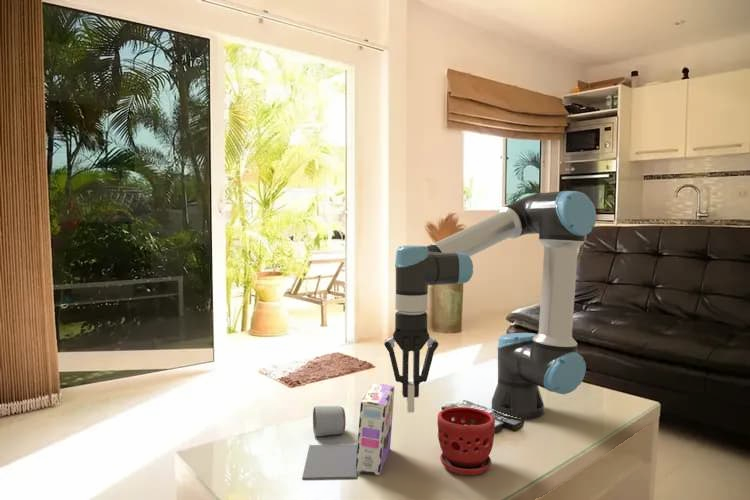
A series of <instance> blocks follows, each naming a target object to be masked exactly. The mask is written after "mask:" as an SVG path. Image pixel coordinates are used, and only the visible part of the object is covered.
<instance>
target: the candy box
mask: <svg viewBox="0 0 750 500" xmlns="http://www.w3.org/2000/svg"><path fill="white" fill-rule="evenodd" d="M394 397H395V385H389V384H384V383H383V384H382V383H376V382H372V384H371V386H370V388H369V389H368V390H367V392H366V393H365V395H364V397H363V398H362V400H361V401H360V409H359V422H358V436H357V459H356V471H357V472H360V473H366V474H370V475H374V476H381V474H382V473H381V472H382V471H383V468H384V465H385V463H386V460H387V457H388V454H389V453H390V449H391V444H392V443H391V441H392V429H393V428H392V427H393V415H394V414H393V413H394V401H395V400H394V399H395V398H394Z"/></svg>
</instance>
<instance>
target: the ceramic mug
mask: <svg viewBox="0 0 750 500" xmlns="http://www.w3.org/2000/svg"><path fill="white" fill-rule="evenodd" d="M346 418H347V417H346V410H345V408H344V407H343V406H341V405H340V406H339V405H315V406H314V407H313V411H312V428H313V429H312V430H313V436H314V437H327V436H334V435H341V434H343V433H344V432H345V430H346V421H347V420H346Z"/></svg>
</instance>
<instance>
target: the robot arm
mask: <svg viewBox="0 0 750 500" xmlns="http://www.w3.org/2000/svg"><path fill="white" fill-rule="evenodd" d="M590 199H591V198H590V197H589V196H588V195H587V194H585V193H583V192H581V191H578V190H563V191H561V190H560V191H551V192H537V193H533V194H530V195H528V196H524V197H522V198H521V199H518V200H515V201H514V202H511V203H510V204H509V203H508V204H507V205H505V206H503V207H501V208H500V209H499V210H498V212H497V213H496V214H494V215H492V216H490V217H488V218H486V219H484V220H481V221H479V222H477V223H475V224H473V225H470V226H467V227H466V228H464V229H461V230H460V231H457V232H455V233H453V234H451V235H449V236H447V237H444V238H442V239H440V240H438V241H436V242H433V243H432V244H429V245H427V246H426V245H400V246H398V247H397V249H396V254H395V263H394V267H395V309H394V310H396V312H395V315H394V319H395V320H394V321H395V323H394V325H395V326H394V327H395V328H394V332H393V334H392V337H390V338H389V339H384V341H383V344H384V347H385V348H386V349H387V352H388V353H389V358H390V362H391V368H392V370H393V374H394V378H395V381H396V382H397V383H401V385H402V391H401V393H402V396H403V398H406V410H407V413H409V414H411V413H415V398H419V396H420V384H421V383H426V382H427V380H428V377H429V372H430V369H431V367H432V362H433V357H434V353H435V351H436V350H437V348H438V346H439V345H440V344H439V342H438V341H437V339H433V338H432V337H430V333H429V331H428V312H426V311H428V309H429V308H428V304H429V303H428V299H429V298H428V296H429V295H428V293H429V292H428V290H429V286H438V285H442V286H443V285H460V284H466V283H468V282H470V281H471V279H472V277H473V275H474V264H473V261H472V258H471V257H472V256H474V255H476V254H478V253H480V252H482V251H485V250H486V249H489V248H490V247H492V246H495V245H497V244H498V243H500V242H501V243H502V242H503V241H505V240H507V239H516V238H517V239H518V238H519V237H521V236H524V235H531V234H538V241H539V242H540V243H541V244H542V245H543V260H542V261H543V263H542V276H541V277H542V279H541V291H540V292H541V293H540V305H539V322H538V332H537V333H533V332H514V333H513V332H512V333H505V334H502V335H500V336H499V338H498V342H497V343H498V344H497V345H498V346H497V384H496V387H495V391H494V394H493V396H492V399H491V409H494V410H496V411H498V412H501V413H504V414H507V415H510V416H513V417H517V418H521V419H520V420H535V419H537V418H541V417H542V416H543V415H544V414H545V404H544V401H543V397H542V394H541V391H540V388H543V389H545V390H546V391H548V392H552V393H556V394H559V395H567V394H569V393H572V392H574V391H575V390H576V389H577V388H578V387H579V386H580V385H581V384H582V382H583V380H584V378H585V375H586V372H587V371H586V370H587V366H586V361H585V360H584V357H583V356H582V355H580V354H579V353H578V342H577V341H576V340H575V338H573V326H574V325H573V323H574V310H575V309H574V308H575V297H576V296H575V294H576V282H577V281H576V280H577V279H576V278H577V268H578V267H577V265H578V254H579V253H578V252H579V250H578V249H579V248H580V247H581V246H582V245H583V244H585V240H586V238H585V237H586V235H588V234H589V233H591V232H592V231H593V228H595V226H596V221H597V213H596V212H597V210H596V208H595V207H596V206H595V205H594V203H593V201H592V200H590ZM395 343H396V344H397V345H398V347H399V349H400V350H401V351H402V362H401V363H402V364H401V365H402V367H401V369H402V371H401V372H402V374H400V371H399V370H400V369H399V367H398V361H397V358H396V354H395V350H394V348H395V346H396V345H395ZM425 345H426V346H427V350H426V354H425V357H424V361H423V366H422V369H421V373H420V356H421V350H422V349H423V348H424V346H425ZM410 352H412V361H413V362H412V366H413V367H412V368H413V369H412V370H413V371H412V381H409V356H410V355H409V353H410ZM539 387H540V388H539Z"/></svg>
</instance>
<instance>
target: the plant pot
mask: <svg viewBox="0 0 750 500" xmlns="http://www.w3.org/2000/svg"><path fill="white" fill-rule="evenodd" d="M453 418H454V419H453ZM452 419H453V420H452ZM462 420H464V421H462ZM471 421H474V424H472V423H471ZM495 422H496V421H495V417H494V416H493V414H491V413H490V412H488V411H485V410H483V409H480V408H474V407H467V406H465V407H464V406H456V407H447V408H444V409H442V410H441V411H439V412H438V413H437V439H438V443H439V447H440V450H441V452H442V453H441V454H440V456H439V457H440V462H441V464H442V465H443V467H445V468H446V469H447V470H449V471H451V472H453V473H455V474H457V475H464V476H465V475H467V476H474V475H478V474H479V475H480V474H481V473H484V472H486V471H487V470H488V469H489V468H490V467H491V464H492V458H491V457H490V454H491V452H492V449H493V446H494V440H495V429H496V427H495V425H496V424H495Z"/></svg>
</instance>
